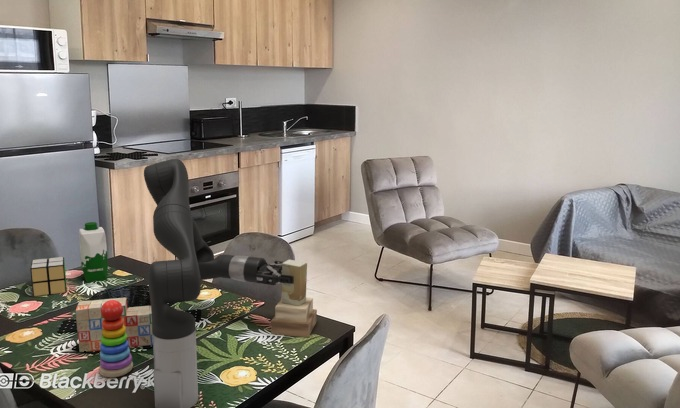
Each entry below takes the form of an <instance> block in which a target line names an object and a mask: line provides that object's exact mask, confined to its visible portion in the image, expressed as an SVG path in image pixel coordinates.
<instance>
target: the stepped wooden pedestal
mask: <svg viewBox="0 0 680 408" xmlns="http://www.w3.org/2000/svg"><path fill="white" fill-rule="evenodd" d="M313 304H314V298H313V297H306V302H305V303H303V304H302V305H300V306H296V305H291V304H287V303H283V302H281V299H280V300H279V301H278V303H276V305H275V307H274V309H275V310H274V311H275V314H274V316H273V318H272V319H271V320H270V335H278V336H279V335H280V336H287V337H299V338H309V337H310V335H311V333H312V331H313V330H314V327H315V325H316V324H317V321H318V319H317V316H318V314H317V312H318V310H317V309H314V305H313Z"/></svg>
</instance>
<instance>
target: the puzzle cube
mask: <svg viewBox="0 0 680 408" xmlns="http://www.w3.org/2000/svg"><path fill="white" fill-rule="evenodd" d="M30 264H31V265H30V270H29V271H30V277H31V278H30V279H31V280H30V281H31V288H32V296H33V297H35V298H36V297H42V296H49V295H59V294H66V293H67V274H66V263H65V257H64V256H57V257H50V258H39V259H38V258H37V259H32V260H31V263H30Z"/></svg>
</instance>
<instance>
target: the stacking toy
mask: <svg viewBox="0 0 680 408" xmlns="http://www.w3.org/2000/svg"><path fill="white" fill-rule="evenodd" d="M122 313H123V306H122V304H121V303H120V302H119V301H116V300H109V301H107V302H105V303H104V304H103V305H102V307H101V315H102V317H103V318H104V320H103V321H102V327H103V329H102V335H103V336H102V337H101V342H102V343H101V345H100V349H101V350H99V358H100V359H99V367H98V372H99V373H100V375H101V376H103V377H105V378H118V377H122V376H125V375H126V374H128V373H130V372H131V371H132V370H133V368H134V362H133V355H132V354H131V350H130V347H128V344H129V343H128V340H127V334H126V333H125V332H126V327H125V326H124V325H123V324H124V320H123V319H122V318H121V315H122Z"/></svg>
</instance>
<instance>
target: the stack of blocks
mask: <svg viewBox="0 0 680 408" xmlns="http://www.w3.org/2000/svg"><path fill="white" fill-rule="evenodd" d="M127 298H128V297H118V298H115V297H114V298H104V299H94V300H84V301H83V300H81V301H79V302H78V304H77V306H76V309H75V318H76V329H77V331H76V332H77V338H78V348H79V353H84V351H86V352H96V351H101V349H100V345H101V343H102V342H101V337H102V336H103V335H102V329H103V327H102V321H103V320H104V318H103V317H102V315H101V307H102V305H103V304H104V303H105V302H107V301H109V300H116V301H119V302H120V303H121V304H122V306H123V313H122V315H121V318H122V319H123V320H124V324H123V325H124V326H125V327H126V332H125V333H126V334H127V340H128V343H129V344H128V347H129V348H134V347H143V346H144V347H146V346H153V335H152V312H151V305H144V306H142V305H140V306H133V307H132V306H131V307H130V306H129V307H128V300H127Z"/></svg>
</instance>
